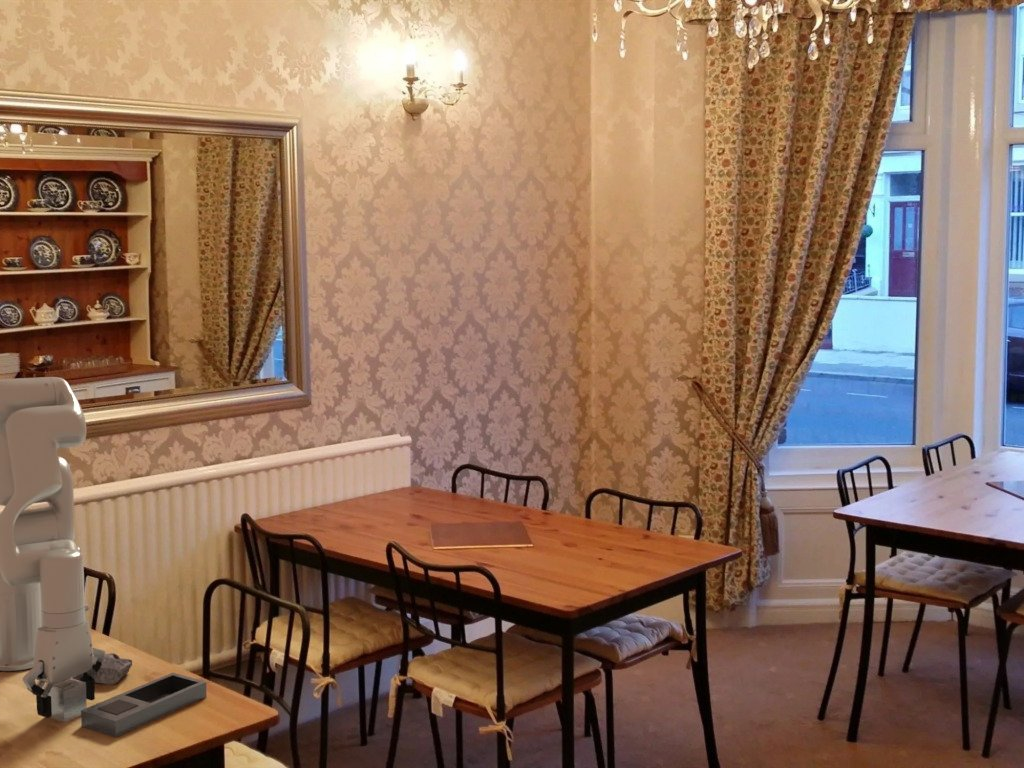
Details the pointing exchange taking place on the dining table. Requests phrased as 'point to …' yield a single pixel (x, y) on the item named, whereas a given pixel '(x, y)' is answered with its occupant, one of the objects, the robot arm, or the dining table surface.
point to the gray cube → (68, 699)
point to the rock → (111, 669)
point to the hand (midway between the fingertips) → (66, 707)
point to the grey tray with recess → (143, 704)
